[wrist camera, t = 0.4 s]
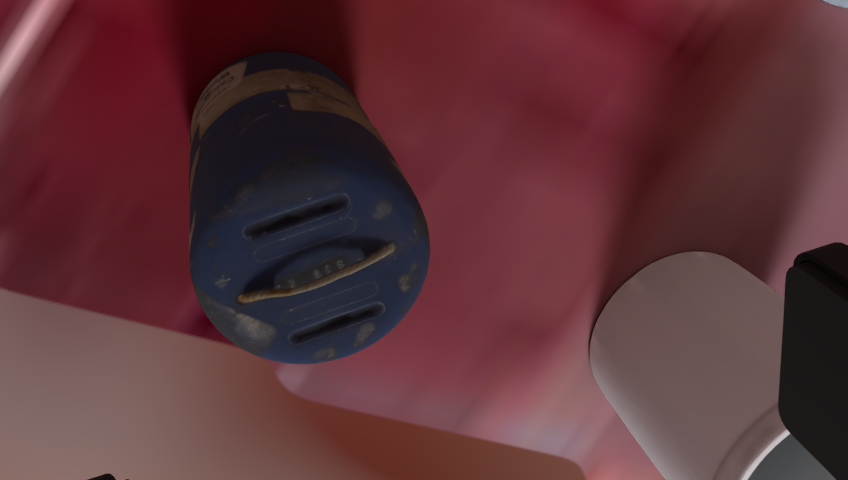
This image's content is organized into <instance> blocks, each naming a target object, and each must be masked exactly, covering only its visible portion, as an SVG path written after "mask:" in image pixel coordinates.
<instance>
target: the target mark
mask: <svg viewBox="0 0 848 480" xmlns="http://www.w3.org/2000/svg"><path fill="white" fill-rule="evenodd" d="M822 1H825V2H827V3H829V4H832V5H836V6H840V7H844V8H848V0H822Z"/></svg>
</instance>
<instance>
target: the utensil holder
mask: <svg viewBox="0 0 848 480" xmlns="http://www.w3.org/2000/svg"><path fill="white" fill-rule="evenodd" d="M784 299H785V297H784V296H783V295H781V294H780V293H778V292H777V291H775V290H774V289H773V288H771V287H770V286H768V285H767V284H765V283H764V282H763V281H761V280H760V279H758V278H757V277H756V276H754V275H753V274H751V273H750V272H748V271H747V270H745V269H744V268H742V267H741V266H739V265H738V264H736V263H735V262H733V261H731V260H730V259H728V258H726V257H724V256H721V255H718V254H715V253H711V252H698V251H693V252H684V253H679V254H674V255H671V256H668V257H665V258H662V259H660V260H658V261H656V262H653V263H651V264H650V265H648V266H646V267H645V268H643V269H642V270H640V271H639V272H638V273H636V274H635V275H634V276H633V277H631V278H630V279H629V280H628V281H626V282H625V283H624V284H623V285H622V286H621V287H620V288H619V289H618V290H617V291H616V292H615V294H614V295H613V296H612V297H611V299H610V300H609V301H608V303H607V304H606V306H605V308H604V309H603V311H602V313H601V314H600V316H599V318H598V320H597V322H596V324H595V327H594V330H593V333H592V338H591V342H590V365H591V369H592V373H593V375H594V378H595V380H596V382H597V384H598V386H599V387H600V389H601V390H602V392H603V393H604V395H605V396H606V398H607V399H608V400H609V402H610V403H611V405H612V406H613V408H614V409H615V410H616V412H617V413H618V415H619V416H620V418H621V419H622V421H623V422H624V423H625V425H626V426H627V428H628V429H629V431H630V432H631V433H632V435H633V436H634V438H635V439H636V440H637V442H638V443H639V444H640V446H641V447H642V448H643V450H644V451H645V452H646V454H647V455H648V457H649V458H650V459H651V461H652V462H653V463H654V465H655V466H656V467H657V469H658V470H659V472H660V473H661V474H662V476H663V477H664V478H665V480H836V479H835V478H834V477H833V476H832V475H831V474H830V473H829V472H828V471H827V470H826V469H825V468H824V467H823V466H822V465H821V464H820V463H819V462H818V461H817V460H816V459H815V458H814V457H813V456H812V455H811V454H810V453H809V452H808V451H807V450H806V449H805V448H804V447H803V446H802V445H801V444H800V443H799V442H798V441H797V440H796V439H795V438H794V437H793V436H792V435H791V434H790V432H789V431H788V430H787V429H786V428H785V426H784V424H783V423H782V420H781V418H780V415H779V411H778V397H779V380H780V364H781V348H782V332H783V315H784Z"/></svg>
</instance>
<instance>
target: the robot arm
mask: <svg viewBox="0 0 848 480" xmlns="http://www.w3.org/2000/svg"><path fill="white" fill-rule="evenodd" d="M778 411H779V415H780V418H781V420H782V423H783V424H784V426H785V428H786V429H787V430H788V431H789V432H790V434H791V435H792V436H793V437H794V438H795V439H796V440H797V441H798V442H799V443H800V444H801V445H802V446H803V447H804V448H805V449H806V450H807V451H808V452H809V453H810V454H811V455H812V456H813V457H814V458H815V459H816V460H817V461H818V462H819V463H820V464H821V465H822V466H823V467H824V468H825V469H826V470H827V471H828V472H829V473H830V474H831V475H832V476H833V477H834V478H835V479H836V480H848V245H845V244H843V243H836V242H835V243H832V244H828V245H825V246H822V247H819V248H816V249H813V250H810V251H806V252H803V253H801V254H799V255H797V257H796V258H795V260H794V264H793V267H791V268H789V269H788V271H787V274H786V283H785V299H784V315H783V332H782V348H781V364H780V380H779V397H778ZM89 480H116V479H115V478H114V476H112V475H111V474H104V475H101V476H98V477H95V478H92V479H89ZM127 480H128V479H127Z"/></svg>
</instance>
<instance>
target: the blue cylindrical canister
mask: <svg viewBox="0 0 848 480" xmlns="http://www.w3.org/2000/svg"><path fill="white" fill-rule="evenodd" d="M190 142H191V148H190V171H189V193H190V238H189V248H190V271H191V278H192V283H193V286H194V290H195V293H196V296H197V298H198V300H199V303H200V305H201V307H202V308H203V310H204V312H205V313H206V315H207V316H208V318H209V319H210V321H211V322H212V323H213V324H214V326H215V327H216V328H217V329H218V330H219V331H220V332H221V333H222V334H223V335H224V336H225V337H227V338H228V339H229V340H230V341H232V342H233V343H234V344H236V345H237V346H239V347H240V348H242V349H244V350H246V351H248V352H250V353H252V354H254V355H256V356H259V357H262V358H265V359H269V360H273V361H277V362H282V363H291V364H315V363H321V362H327V361H332V360H336V359H340V358H343V357H346V356H349V355H352V354H355V353H357V352H359V351H361V350H363V349H365V348H367V347H369V346H370V345H372V344H374V343H375V342H377V341H378V340H380V339H381V338H382V337H384V336H385V335H386V334H388V333H389V332H390V331H391V330H392V329H393V328H394V327H395V326H396V325H397V324H398V323H399V322H400V321H401V320H402V319H403V318H404V317H405V315H406V314H407V313H408V311H409V310H410V309H411V307H412V306H413V304H414V302H415V301H416V299H417V297H418V295H419V293H420V291H421V289H422V286H423V283H424V281H425V278H426V275H427V271H428V265H429V257H430V242H429V233H428V227H427V223H426V219H425V216H424V214H423V211H422V209H421V206H420V204H419V202H418V200H417V198H416V196H415V194H414V192H413V191H412V189H411V187H410V186H409V184H408V182H407V180H406V178H405V176H404V174H403V173H402V171H401V170H400V168H399V166H398V165H397V163H396V161H395V159H394V157H393V156H392V154H391V153H390V151H389V149H388V148H387V146H386V144H385V142H384V140H383V139H382V137H381V135H380V134H379V133H378V131H377V130H376V128H375V127H374V126H373V125H372V124H371V122H370V121H369V119H368V117H367V115H366V114H365V112H364V111H363V109H362V107H361V106H360V104H359V102H358V101H357V99H356V98H355V96H354V94H353V93H352V91H351V90H350V89H349V87H348V86H347V85H346V83H345V82H344V81H343V80H342V79H341V78H340V77H339V76H338V75H337V74H336V73H335V72H333V71H332V70H331V69H329V68H328V67H326V66H325V65H323V64H321V63H320V62H318V61H316V60H314V59H311V58H309V57H306V56H303V55H299V54H294V53H288V52H265V53H259V54H255V55H251V56H248V57H245V58H242V59H240V60H238V61H236V62H234V63H232V64H231V65H229V66H227V67H226V68H224V69H223V70H222V71H220V72H219V73H218V74H217V75H216V76H215V77H214V78H213V79H212V80H211V81H210V82H209V83H208V85H207V86H206V87H205V89H204V90H203V92H202V93H201V95H200V97H199V99H198V101H197V104H196V106H195V109H194V112H193V116H192V120H191V127H190Z"/></svg>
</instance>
